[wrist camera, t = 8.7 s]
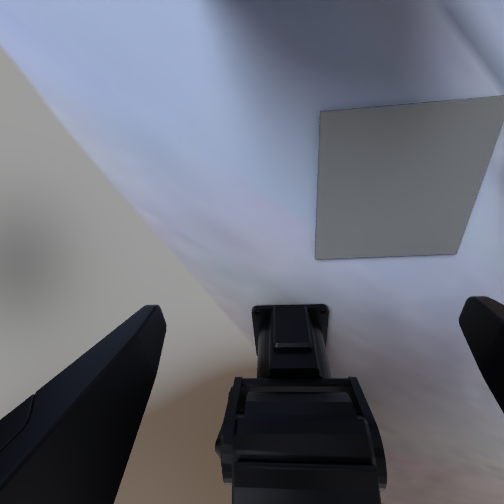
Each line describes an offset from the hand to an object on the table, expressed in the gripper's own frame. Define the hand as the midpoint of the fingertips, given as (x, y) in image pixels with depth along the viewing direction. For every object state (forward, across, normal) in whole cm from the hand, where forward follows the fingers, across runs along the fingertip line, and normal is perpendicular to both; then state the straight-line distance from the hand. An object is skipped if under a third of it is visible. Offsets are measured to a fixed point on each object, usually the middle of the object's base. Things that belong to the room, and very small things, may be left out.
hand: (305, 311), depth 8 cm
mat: (+12, -7, +1) cm, 14 cm away
